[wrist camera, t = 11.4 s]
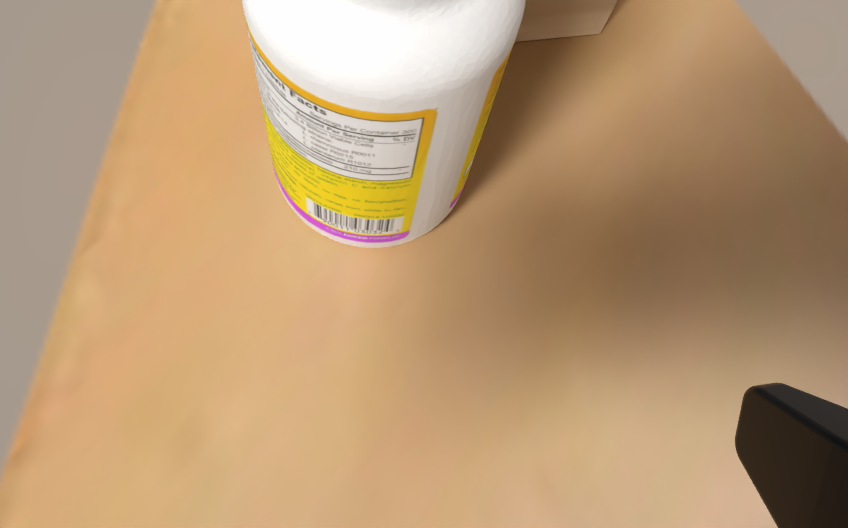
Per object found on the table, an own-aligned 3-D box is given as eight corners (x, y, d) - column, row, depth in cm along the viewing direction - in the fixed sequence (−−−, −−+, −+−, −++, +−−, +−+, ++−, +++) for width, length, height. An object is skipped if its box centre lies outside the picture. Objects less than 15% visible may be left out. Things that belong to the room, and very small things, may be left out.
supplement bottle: (400, 60, 27) (451, -320, 15) (499, 198, 25) (645, -102, 13) (238, 135, 25) (148, -230, 13) (334, 290, 23) (332, 34, 11)
